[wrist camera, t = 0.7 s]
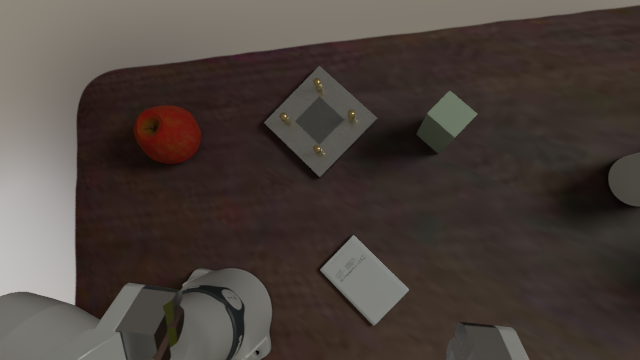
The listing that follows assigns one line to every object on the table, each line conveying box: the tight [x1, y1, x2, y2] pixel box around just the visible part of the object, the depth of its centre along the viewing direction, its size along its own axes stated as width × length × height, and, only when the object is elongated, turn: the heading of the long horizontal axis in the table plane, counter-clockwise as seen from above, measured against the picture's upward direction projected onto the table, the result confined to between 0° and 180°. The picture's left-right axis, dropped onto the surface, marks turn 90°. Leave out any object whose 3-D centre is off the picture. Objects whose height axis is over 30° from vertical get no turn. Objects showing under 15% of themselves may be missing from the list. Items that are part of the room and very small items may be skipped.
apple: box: [134, 105, 201, 164], centre depth 64 cm, size 10×10×10 cm
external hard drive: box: [320, 235, 409, 326], centre depth 62 cm, size 2×8×12 cm
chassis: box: [264, 66, 377, 178], centre depth 64 cm, size 14×14×5 cm
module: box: [416, 91, 477, 154], centre depth 58 cm, size 4×5×12 cm
